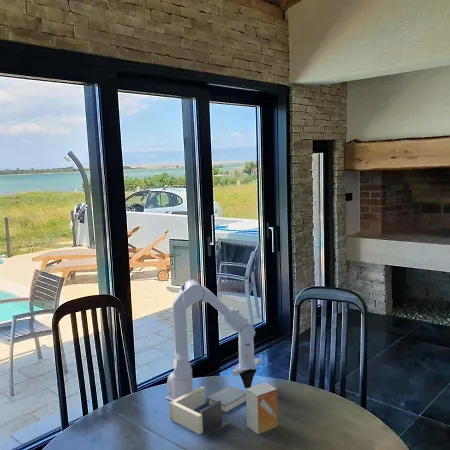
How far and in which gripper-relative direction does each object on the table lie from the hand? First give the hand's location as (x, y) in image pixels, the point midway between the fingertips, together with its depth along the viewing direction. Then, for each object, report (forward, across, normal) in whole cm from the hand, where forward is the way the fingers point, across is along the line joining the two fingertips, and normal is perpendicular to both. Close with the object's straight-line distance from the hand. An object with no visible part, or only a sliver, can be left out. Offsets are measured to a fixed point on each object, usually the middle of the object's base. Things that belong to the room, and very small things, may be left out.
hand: (247, 387), depth 176 cm
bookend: (+1, -26, -8) cm, 28 cm away
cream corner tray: (+1, -24, 0) cm, 24 cm away
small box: (+1, -16, -20) cm, 26 cm away
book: (+2, -11, 0) cm, 11 cm away
